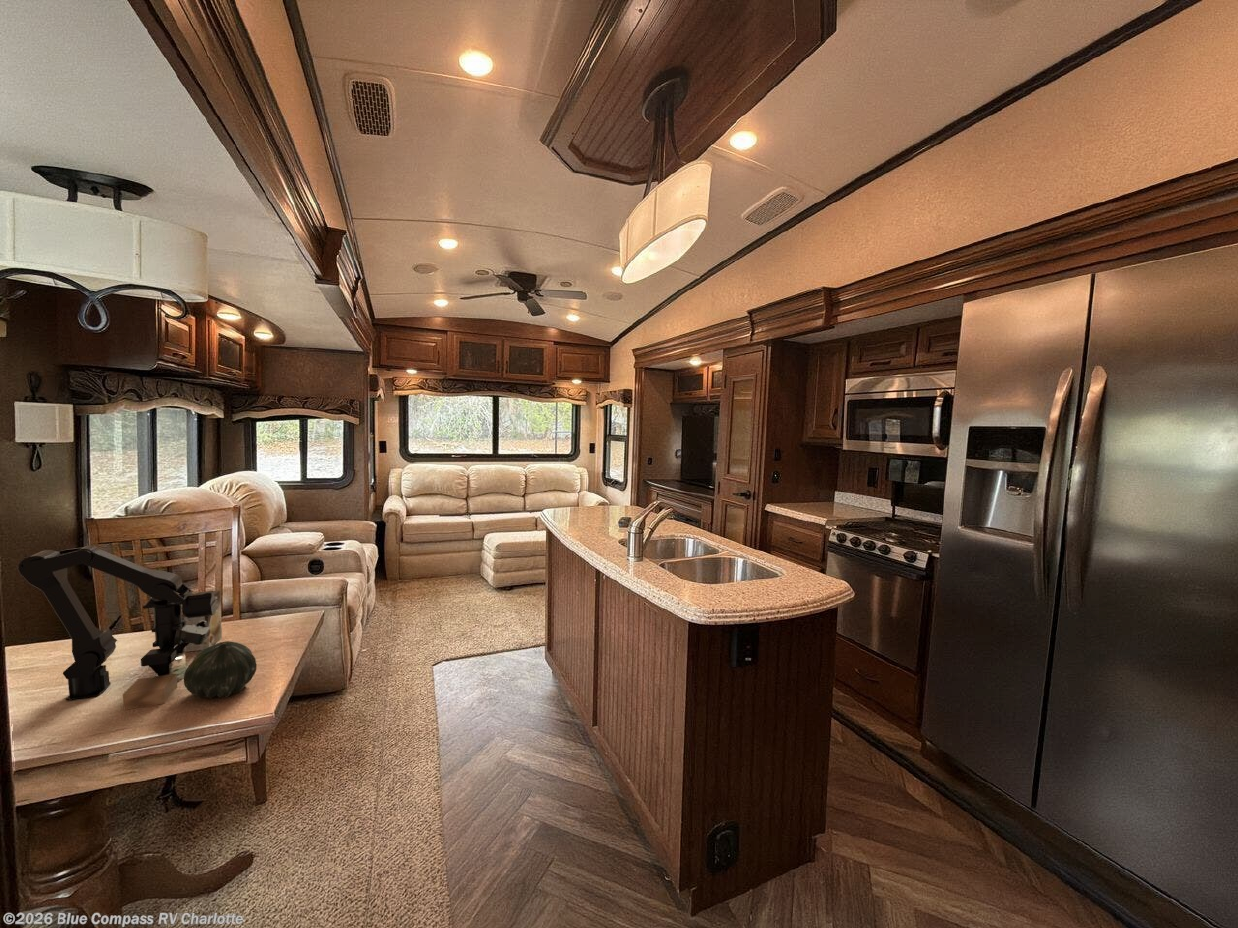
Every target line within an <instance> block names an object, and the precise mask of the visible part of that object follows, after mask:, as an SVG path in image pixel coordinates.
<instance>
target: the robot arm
mask: <svg viewBox="0 0 1238 928" xmlns="http://www.w3.org/2000/svg"><path fill="white" fill-rule="evenodd" d="M78 565H79V566H80V565H85V566H87V567H89V568H92V569H95V570H97V571H99V572H102V573H104V574H107V575H110V576H112V577H115V578H118V579H119V580H123V581H125V582H128V583H131V584H132V585H134V586H136V587H137V588H138V589H139V590H140V591H141V592H142V593H144V594H145V595H147V596H148V597H150V599H149V600H148V601H147V602H146V603H145V604H144V605H143V606H142V609H145V610H146V609H152V610H153V624H154V626H153V627H151V633H154V642H152V648H153V649H152V648H151V649H150V650H148V652H147V653H145V655H144V656H142V657H141V658H140V665H141V666H140V667H149V668H150V669H152V670H153V671H154V672H155V674H156V676H157V675H158V676H162V675H169V674H170V671H171V663H172V662H173V661H174V660H175V659H176V658H177V657H178V656H176V653H183V654H185V653H184V652H185V651H186V648H185V647H186V646H187V645H188V644H189V643H193V644H195V645H200V644H202V643H203V642H204V640H205V639H206V637H207V634H208V632H209V631H210V629H209V627H208V624H207V621H203V620H201V621H200V622H199V623H198V624H196V625H195V624H193V625H187V622H186V621H185V619H184V618H183V617H184V616H185V617H188V618H195V617H203V616H211V615H215V612H216V607H217V600H216V599H215V596H214V595H213V591H214V590H208V591H207V592H206V591H202V592H203V593H197V592H195V593H193V590H192V589H191V588H190V587H188V586H187V585H186V584H185V583H184V582H183V580H182V579H183V578H182V577H181V575H179V574H177V573H173V572H169V571H166V570H165V571H164V570H161V569H151V568H147V567H144V566H142V565H139V564H137V563H135V562H132V561H129V560H128V559H125V558H123V557H121V556H118V555H115V554H112V553H110V552H108V551H106V550H103V549H101V548H99V547H97V546H95V545H85V546H84V547H83V546H82V547H76V548H75V547H74V548H68V549H64V550H57V551H56V550H54V549H53V550H52V549H45V550H41V551H39V552H36V553H34V554H32V555H29V556H28V557H25V558H24V559H23V560H22V561H20V562H19V564H18V565H17V571H18V573H19V574H20V575H21V578H22V577H23V579H24V580H25V581H26V582H27V583H28V584H29V585H31V586H33V587H35V588H37V589H38V590H40V591H41V592H42V593H43V595H44V596H45V598H46V599H47V601H48V603H49V604H50V606H51V607H52V609H53V611H54V613H55V615H56V616H57V617H58V619H59V620H60V622H61V623H62V625H63V627H64V629H65V630H66V632H67V633H68V635H69V637H70V639H71V654H72V656H73V660H74V662H73V663H72V664H71V665H69V666H68V667H67V668H66V669H65V670H64V671H62V674H63V676H64V677H65V679H66V680H67V684H68V696H67V697H65V701H66V702H67V701H72V700H80V699H86V698H87V699H88V698H93V697H98V696H100V695H101V694H102V693H103V692H104V691H105V690H106V689H108V687H110V686H111V685H112V683H111V682H110V672H109V670H107V666H106V664H104V663H106V661H107V660H108V658H109V657H110V656H111V655H113V653H114V652H115V650H116V649H117V645H116V642H117V641H118V640H117V639H116V638H115V637H114V636H113V633H112V631H111V629H110V628H107V629H105V630H101V629H100V628H98V627H96V626H95V624H94V622H93V621H92V619H91V617H90V615H89V614H88V612H87V610H86V609H85V607H84V605H83V604H82V603H81V601H80V599H79V598H78V596H77V594H76V592H75V591H74V589H73V588H72V586H71V584H70V582H69V580H68V568H71V567H75V566H78Z"/></svg>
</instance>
